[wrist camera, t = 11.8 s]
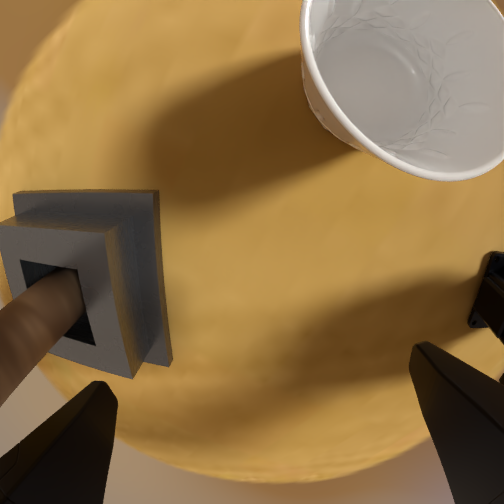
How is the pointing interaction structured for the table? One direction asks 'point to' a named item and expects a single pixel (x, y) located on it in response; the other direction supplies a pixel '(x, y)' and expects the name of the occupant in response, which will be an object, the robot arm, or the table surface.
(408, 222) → the table surface
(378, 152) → the white cup
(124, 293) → the socket
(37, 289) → the peg
